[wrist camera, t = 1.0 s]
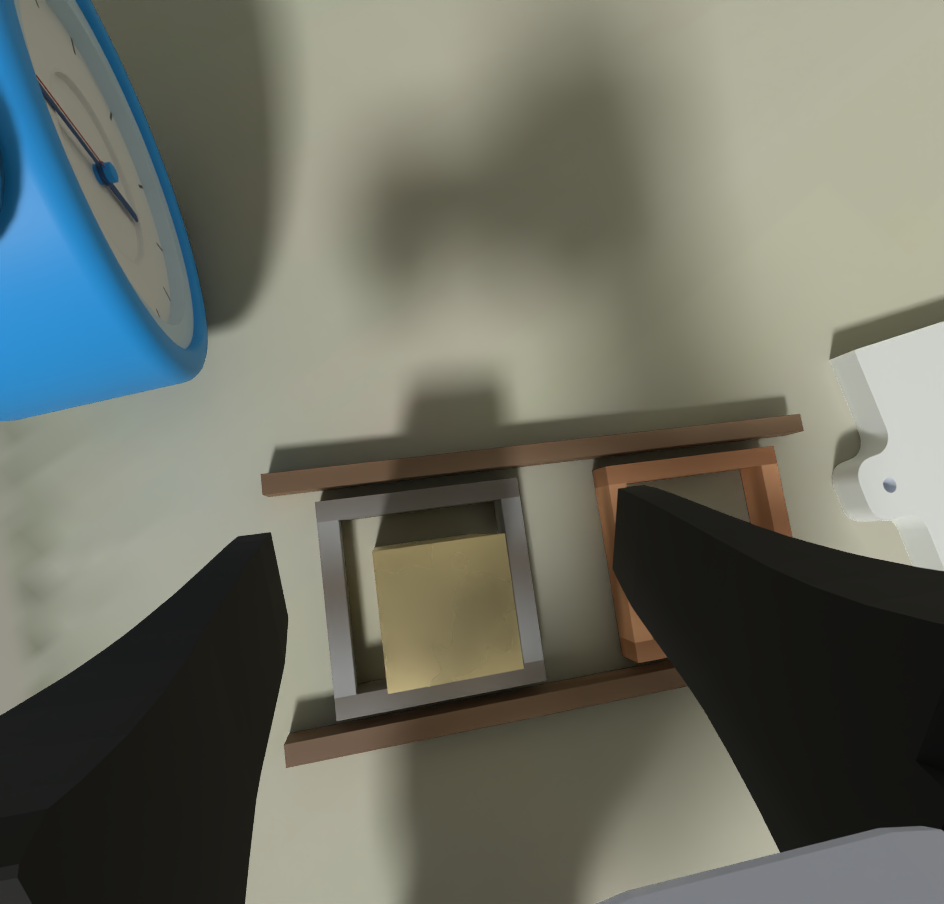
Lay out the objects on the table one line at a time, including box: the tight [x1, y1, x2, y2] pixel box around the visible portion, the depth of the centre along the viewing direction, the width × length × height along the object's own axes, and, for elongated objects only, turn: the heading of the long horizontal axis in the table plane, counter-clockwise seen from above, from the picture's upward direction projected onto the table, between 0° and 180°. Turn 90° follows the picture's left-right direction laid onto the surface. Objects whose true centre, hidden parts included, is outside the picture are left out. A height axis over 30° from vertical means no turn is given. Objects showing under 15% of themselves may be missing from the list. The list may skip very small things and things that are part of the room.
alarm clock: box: [0, 0, 208, 421], centre depth 16 cm, size 13×6×15 cm, turn 17°
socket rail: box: [261, 414, 804, 768], centre depth 23 cm, size 11×24×2 cm, turn 98°
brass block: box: [372, 533, 524, 694], centre depth 20 cm, size 4×4×7 cm
